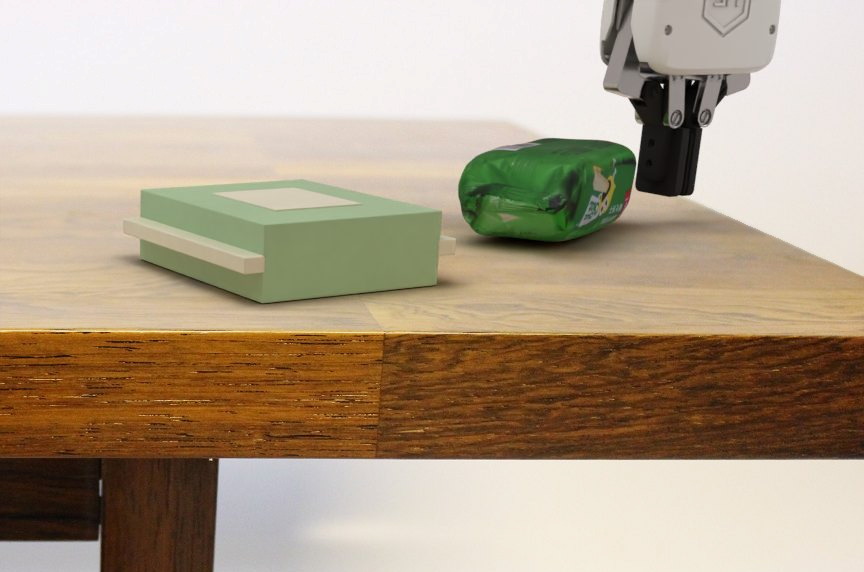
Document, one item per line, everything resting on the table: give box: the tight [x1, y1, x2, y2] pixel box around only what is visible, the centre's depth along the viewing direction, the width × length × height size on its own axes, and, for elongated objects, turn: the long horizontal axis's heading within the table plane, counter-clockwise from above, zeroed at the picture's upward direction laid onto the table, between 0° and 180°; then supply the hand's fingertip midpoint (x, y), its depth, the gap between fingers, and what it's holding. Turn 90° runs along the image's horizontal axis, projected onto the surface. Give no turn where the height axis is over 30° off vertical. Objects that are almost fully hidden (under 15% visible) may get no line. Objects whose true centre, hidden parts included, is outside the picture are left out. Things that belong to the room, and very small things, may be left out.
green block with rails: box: [122, 178, 457, 304], centre depth 74 cm, size 12×12×4 cm
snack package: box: [457, 137, 637, 243], centre depth 85 cm, size 7×16×5 cm, turn 146°
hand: (663, 192), depth 90 cm, fingers closed
